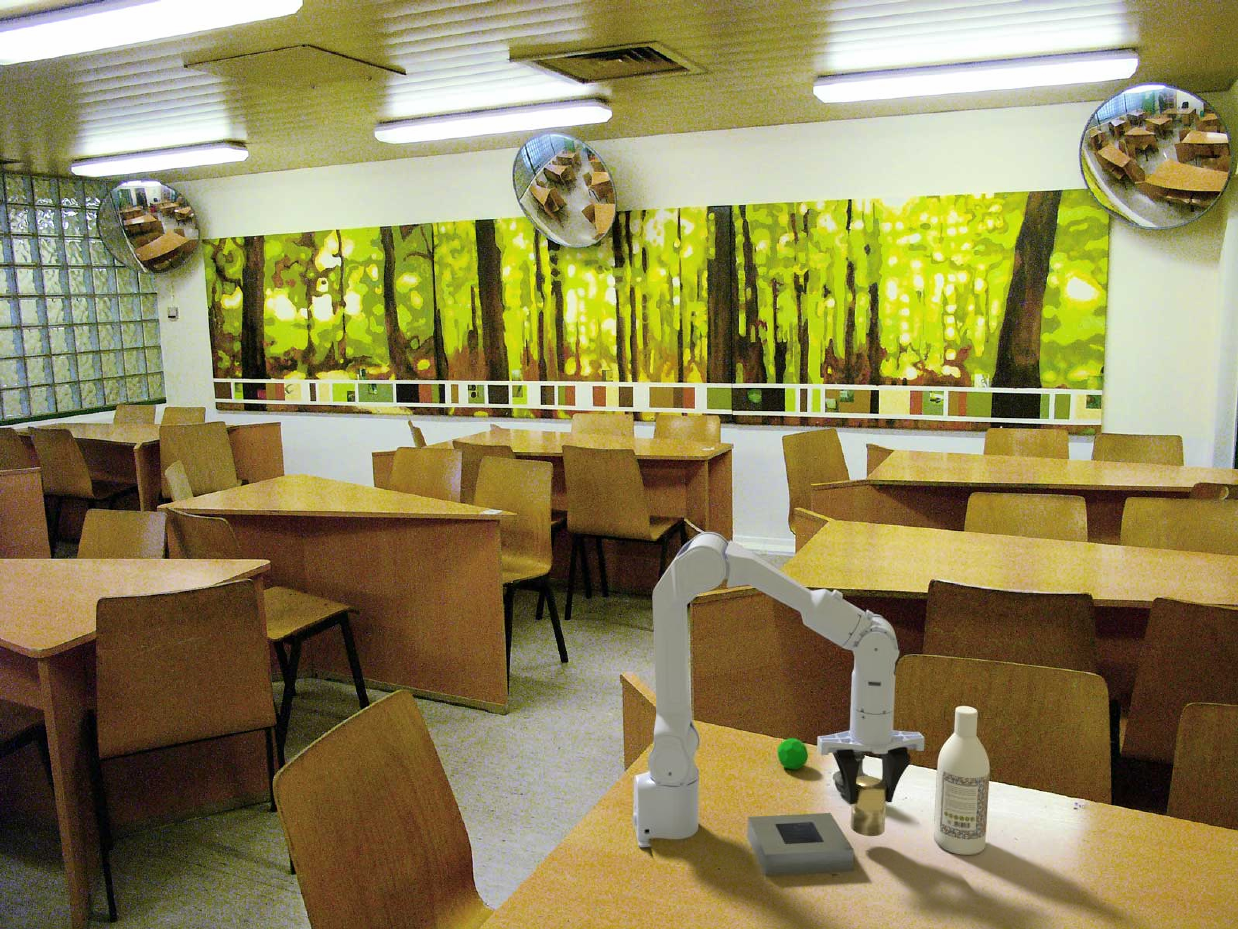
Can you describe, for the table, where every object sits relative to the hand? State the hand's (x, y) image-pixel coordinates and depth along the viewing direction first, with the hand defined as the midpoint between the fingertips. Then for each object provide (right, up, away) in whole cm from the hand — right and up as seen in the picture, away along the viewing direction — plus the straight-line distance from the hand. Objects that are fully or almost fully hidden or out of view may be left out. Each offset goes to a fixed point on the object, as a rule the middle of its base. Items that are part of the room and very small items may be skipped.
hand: (868, 800), depth 137 cm
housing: (-10, -8, -1) cm, 13 cm away
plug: (0, -4, 0) cm, 4 cm away
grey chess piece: (+1, -6, +16) cm, 17 cm away
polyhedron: (-6, -4, +27) cm, 28 cm away
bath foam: (+14, -8, +4) cm, 16 cm away
